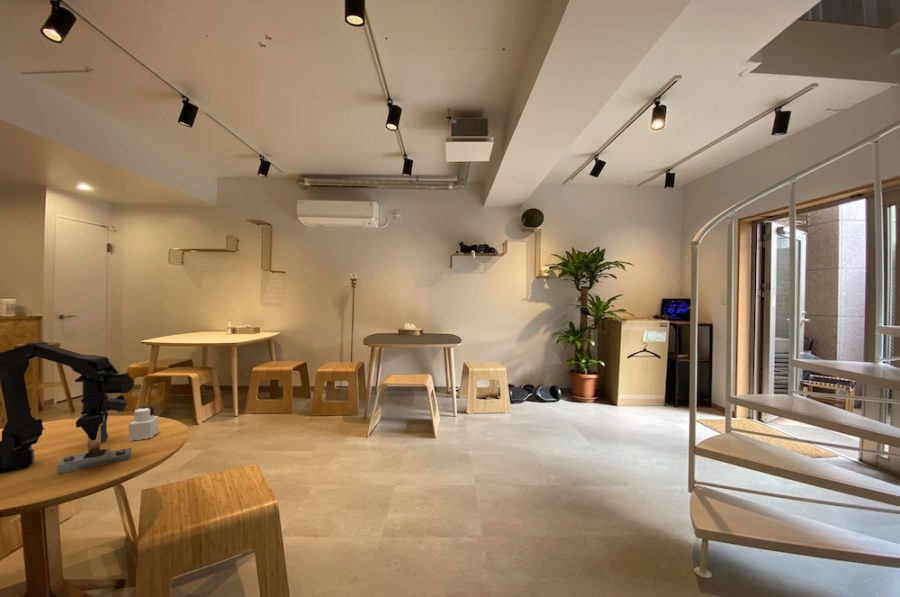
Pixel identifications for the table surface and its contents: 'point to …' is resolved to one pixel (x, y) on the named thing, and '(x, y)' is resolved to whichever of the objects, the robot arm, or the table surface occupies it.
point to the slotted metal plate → (91, 459)
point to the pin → (95, 443)
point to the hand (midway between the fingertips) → (94, 438)
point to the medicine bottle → (143, 424)
